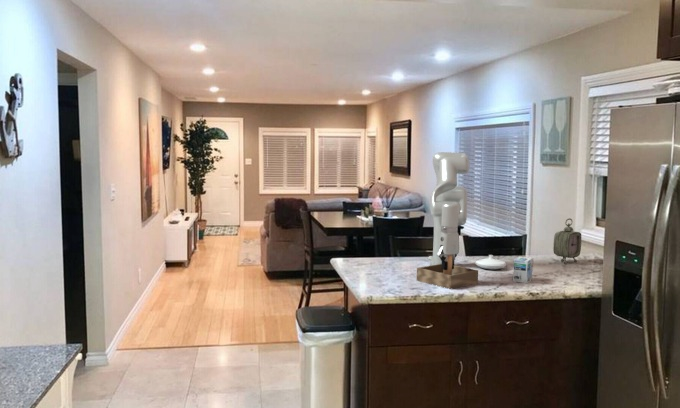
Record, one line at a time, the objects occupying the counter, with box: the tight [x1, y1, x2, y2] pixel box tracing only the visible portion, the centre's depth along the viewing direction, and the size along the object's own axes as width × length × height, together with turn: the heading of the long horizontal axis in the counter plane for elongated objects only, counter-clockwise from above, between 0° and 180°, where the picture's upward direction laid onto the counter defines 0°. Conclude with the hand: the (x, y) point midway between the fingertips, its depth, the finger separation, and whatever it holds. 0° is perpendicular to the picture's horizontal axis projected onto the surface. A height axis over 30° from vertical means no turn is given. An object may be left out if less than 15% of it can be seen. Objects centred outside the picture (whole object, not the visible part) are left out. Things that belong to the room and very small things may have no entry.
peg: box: [443, 255, 453, 275], centre depth 265 cm, size 4×4×10 cm
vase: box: [475, 254, 507, 271], centre depth 299 cm, size 16×16×7 cm
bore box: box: [416, 264, 479, 290], centre depth 266 cm, size 20×20×6 cm
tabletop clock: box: [552, 217, 582, 265], centre depth 319 cm, size 14×9×25 cm, turn 129°
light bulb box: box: [512, 255, 534, 284], centre depth 272 cm, size 11×7×11 cm, turn 148°
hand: (447, 268), depth 265 cm, fingers closed on peg, 4 cm apart
